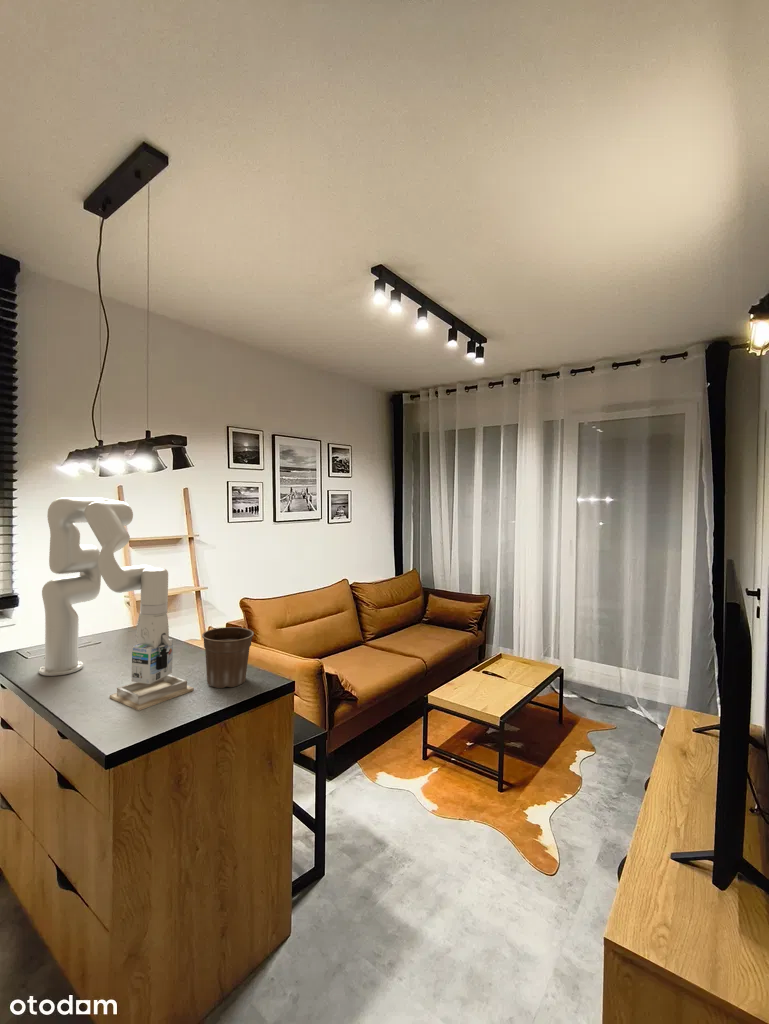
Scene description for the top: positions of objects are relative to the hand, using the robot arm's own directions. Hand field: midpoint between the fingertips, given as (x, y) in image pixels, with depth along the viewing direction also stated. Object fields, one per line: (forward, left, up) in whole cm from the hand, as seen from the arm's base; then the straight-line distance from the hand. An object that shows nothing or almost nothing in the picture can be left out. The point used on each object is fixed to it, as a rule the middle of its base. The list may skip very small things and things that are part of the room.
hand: (152, 665), depth 149 cm
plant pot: (+10, +20, -9) cm, 24 cm away
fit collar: (0, 0, -9) cm, 9 cm away
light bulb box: (0, 0, -4) cm, 4 cm away
